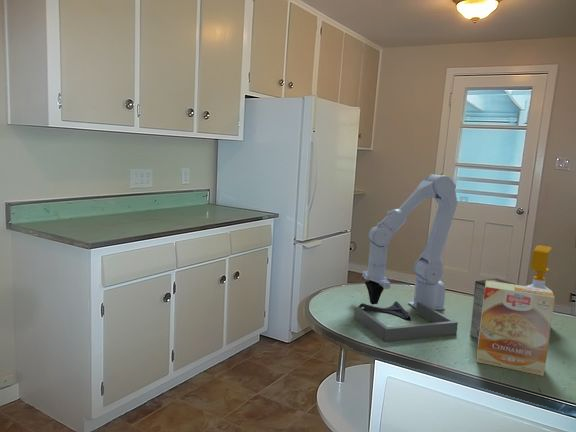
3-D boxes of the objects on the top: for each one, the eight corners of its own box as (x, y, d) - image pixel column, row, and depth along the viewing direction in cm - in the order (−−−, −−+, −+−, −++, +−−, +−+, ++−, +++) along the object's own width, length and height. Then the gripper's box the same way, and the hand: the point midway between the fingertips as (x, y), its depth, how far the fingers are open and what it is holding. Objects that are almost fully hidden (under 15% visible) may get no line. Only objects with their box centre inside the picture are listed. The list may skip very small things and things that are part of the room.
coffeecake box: (476, 362, 113) (484, 286, 110) (476, 351, 119) (485, 279, 117) (544, 377, 107) (555, 296, 104) (541, 364, 113) (552, 289, 111)
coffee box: (490, 330, 135) (497, 277, 132) (510, 338, 129) (516, 283, 127) (468, 334, 130) (475, 280, 128) (487, 343, 125) (494, 286, 123)
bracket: (354, 304, 154) (355, 296, 153) (398, 306, 154) (399, 298, 154) (362, 320, 139) (363, 311, 139) (411, 322, 140) (411, 313, 140)
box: (419, 312, 147) (420, 302, 147) (456, 334, 131) (457, 322, 130) (354, 318, 139) (355, 307, 139) (385, 341, 123) (386, 329, 122)
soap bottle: (553, 324, 142) (564, 247, 139) (545, 332, 136) (556, 251, 132) (522, 316, 148) (531, 242, 145) (513, 323, 142) (523, 245, 138)
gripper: (355, 258, 154) (352, 297, 156) (377, 269, 141) (374, 311, 143) (374, 257, 157) (371, 296, 159) (397, 268, 143) (393, 310, 145)
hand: (373, 303), depth 151 cm, fingers closed
